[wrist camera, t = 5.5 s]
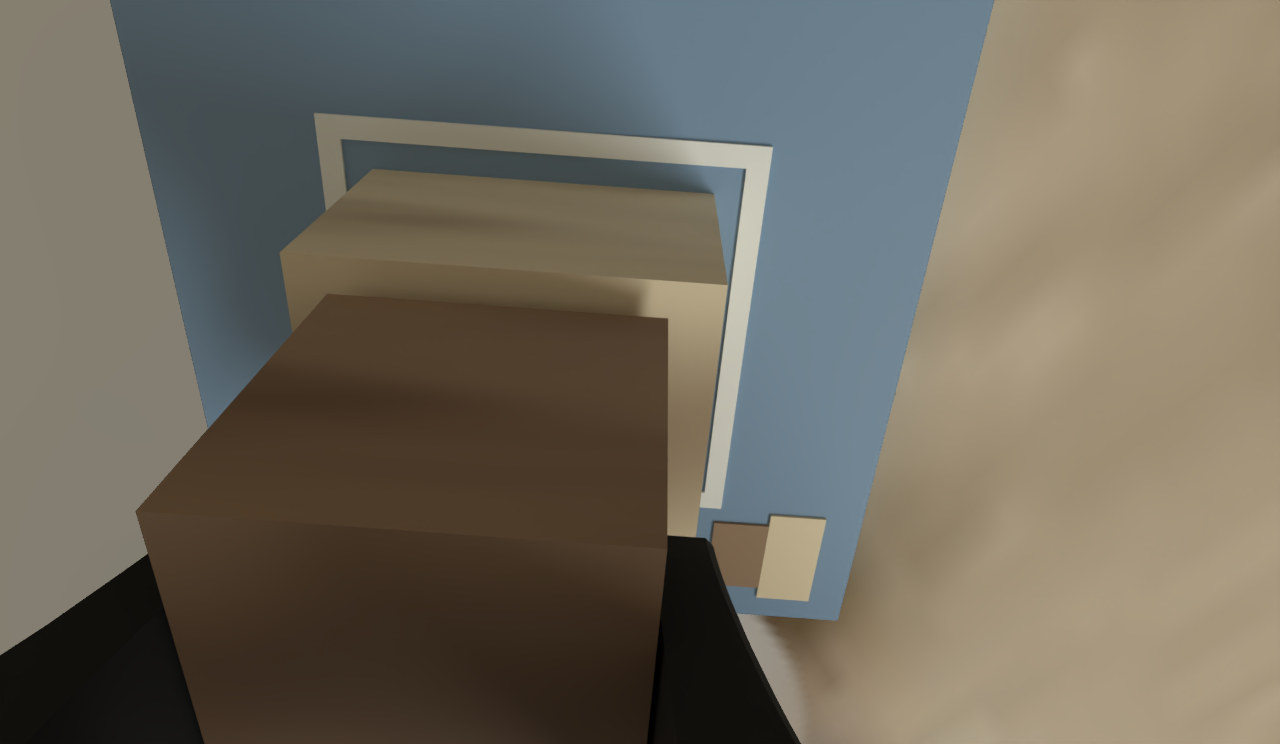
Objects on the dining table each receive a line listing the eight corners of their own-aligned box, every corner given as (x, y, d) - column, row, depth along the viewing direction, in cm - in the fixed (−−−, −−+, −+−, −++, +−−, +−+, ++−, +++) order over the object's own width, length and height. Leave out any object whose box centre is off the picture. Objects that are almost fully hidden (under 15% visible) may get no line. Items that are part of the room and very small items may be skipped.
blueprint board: (833, 601, 20) (837, 622, 20) (253, 560, 20) (240, 579, 19) (991, -45, 13) (1007, -43, 13) (108, -111, 13) (82, -112, 13)
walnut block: (645, 574, 13) (634, 858, 9) (361, 554, 13) (229, 830, 9) (668, 318, 11) (667, 549, 7) (326, 293, 11) (135, 510, 7)
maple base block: (683, 470, 18) (686, 611, 14) (399, 450, 18) (332, 586, 14) (714, 193, 15) (727, 285, 11) (372, 168, 15) (279, 252, 11)
